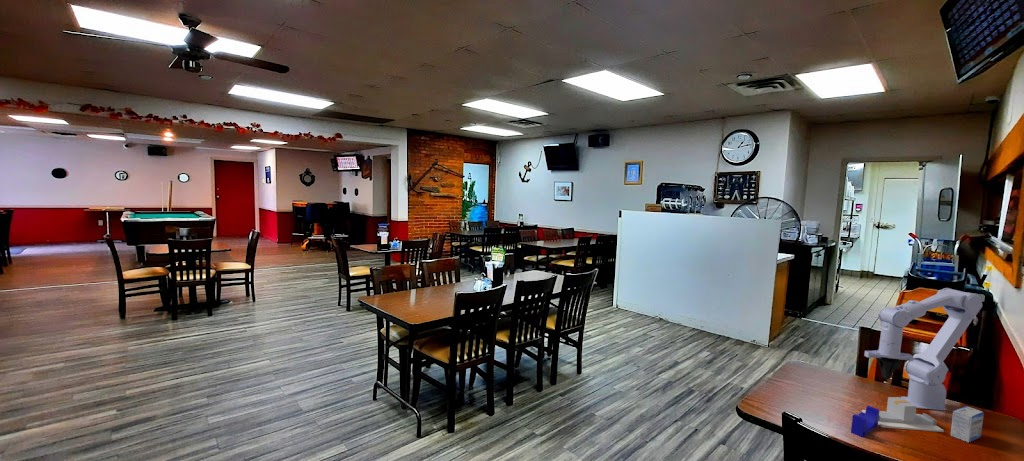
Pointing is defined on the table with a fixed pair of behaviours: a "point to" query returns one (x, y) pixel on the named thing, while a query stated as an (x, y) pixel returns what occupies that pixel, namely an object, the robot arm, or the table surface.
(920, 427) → the rail board
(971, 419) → the medicine box
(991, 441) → the table surface
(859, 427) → the cable clip
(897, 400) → the block
